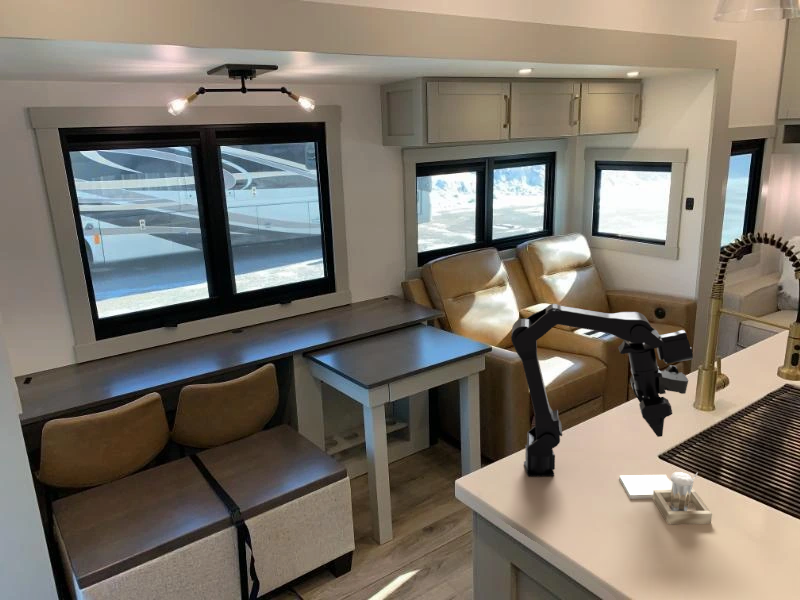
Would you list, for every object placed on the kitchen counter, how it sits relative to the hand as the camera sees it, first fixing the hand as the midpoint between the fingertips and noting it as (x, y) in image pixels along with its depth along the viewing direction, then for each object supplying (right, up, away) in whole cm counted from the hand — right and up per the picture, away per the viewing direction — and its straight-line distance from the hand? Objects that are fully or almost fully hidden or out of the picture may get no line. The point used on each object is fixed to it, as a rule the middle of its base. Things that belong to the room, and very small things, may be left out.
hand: (656, 426), depth 144 cm
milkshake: (+2, -17, -9) cm, 19 cm away
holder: (+2, -17, -9) cm, 19 cm away
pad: (-2, -14, 0) cm, 15 cm away
